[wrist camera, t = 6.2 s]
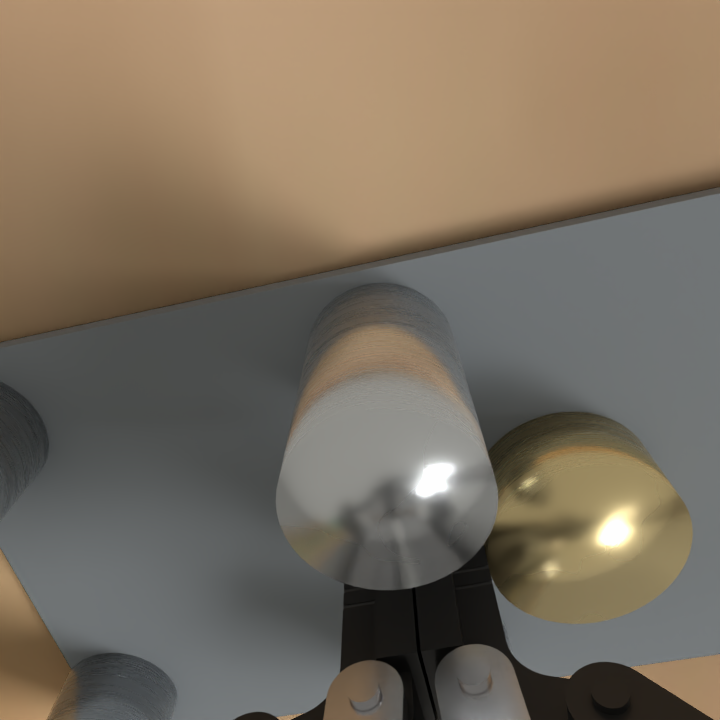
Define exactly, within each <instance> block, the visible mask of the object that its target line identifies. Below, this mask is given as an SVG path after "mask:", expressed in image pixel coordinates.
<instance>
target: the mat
mask: <svg viewBox="0 0 720 720" xmlns="http://www.w3.org/2000/svg"><path fill="white" fill-rule="evenodd" d="M374 283H390V284H397V285H402V286H406V287H408V288H411V289H414V290H416V291H418V292H420V293H421V294H423V295H425V296H426V297H427V298H429V299H430V300H432V301H433V302H434V303H435V304H436V305H437V306H438V307H439V308H440V310H441V311H442V312H443V313H444V315H445V317H446V318H447V320H448V322H449V324H450V327H451V329H452V332H453V335H454V339H455V342H456V346H457V349H458V352H459V356H460V359H461V363H462V366H463V370H464V373H465V377H466V380H467V383H468V387H469V390H470V394H471V397H472V401H473V404H474V407H475V411H476V414H477V418H478V421H479V425H480V428H481V431H482V435H483V438H484V442H485V445H486V449H487V452H488V451H489V450H490V448H491V447H492V446H493V445H494V444H495V443H496V442H497V441H498V440H499V439H500V438H502V437H503V436H504V435H505V434H506V433H508V432H509V431H511V430H512V429H514V428H516V427H517V426H519V425H521V424H523V423H525V422H527V421H529V420H532V419H535V418H538V417H541V416H545V415H549V414H553V413H561V412H586V413H592V414H597V415H601V416H604V417H607V418H610V419H612V420H614V421H616V422H618V423H620V424H622V425H623V426H625V427H626V428H628V429H629V430H630V431H632V432H633V433H634V434H635V435H636V436H637V437H638V438H639V440H640V441H641V442H642V444H643V445H644V447H645V448H646V449H647V451H648V452H649V454H650V455H651V456H652V458H653V459H654V461H655V462H656V463H657V465H658V466H659V468H660V469H661V471H662V472H663V473H664V475H665V476H666V478H667V479H668V480H669V482H670V483H671V485H672V486H673V487H674V489H675V490H676V492H677V493H678V495H679V496H680V497H681V499H682V500H683V502H684V503H685V505H686V507H687V509H688V511H689V514H690V518H691V521H692V529H693V537H692V545H691V550H690V554H689V556H688V558H687V561H686V563H685V565H684V567H683V569H682V570H681V572H680V574H679V575H678V576H677V577H676V579H675V580H674V581H673V583H672V584H671V585H670V586H669V587H668V588H667V589H666V590H665V591H664V592H662V593H661V594H660V595H659V596H657V597H656V598H655V599H653V600H652V601H650V602H649V603H647V604H646V605H644V606H642V607H640V608H639V609H637V610H635V611H633V612H630V613H628V614H625V615H623V616H620V617H617V618H613V619H610V620H606V621H601V622H595V623H586V624H567V623H557V622H552V621H547V620H543V619H540V618H537V617H534V616H532V615H530V614H527V613H525V612H524V611H522V610H520V609H518V608H517V607H515V606H514V605H513V604H512V603H510V602H509V601H508V600H507V599H506V598H505V597H504V596H503V595H502V594H501V593H500V591H499V590H498V588H497V587H496V585H495V584H494V581H493V579H492V583H493V587H494V591H495V595H496V600H497V604H498V608H499V612H500V617H501V621H502V622H503V623H504V625H505V627H506V629H507V633H508V637H509V641H510V645H511V650H512V654H513V656H514V657H515V658H516V659H517V660H518V661H519V662H520V663H521V664H522V665H524V666H525V667H527V668H528V669H530V670H532V671H534V672H537V673H540V674H543V675H548V676H553V677H562V676H569V675H573V674H574V673H575V672H576V671H577V670H579V669H580V668H582V667H584V666H586V665H588V664H591V663H596V662H614V663H618V664H622V665H625V666H627V667H632V666H639V665H647V664H654V663H661V662H668V661H675V660H682V659H689V658H696V657H703V656H710V655H717V654H720V187H717V188H712V189H708V190H703V191H699V192H694V193H689V194H685V195H680V196H675V197H671V198H666V199H662V200H657V201H652V202H648V203H643V204H638V205H634V206H629V207H625V208H620V209H615V210H611V211H606V212H601V213H597V214H592V215H588V216H583V217H578V218H574V219H569V220H564V221H560V222H555V223H551V224H546V225H541V226H537V227H532V228H527V229H523V230H518V231H514V232H509V233H504V234H500V235H495V236H490V237H486V238H481V239H477V240H472V241H467V242H463V243H458V244H453V245H449V246H444V247H440V248H435V249H430V250H426V251H421V252H416V253H412V254H407V255H403V256H398V257H393V258H389V259H384V260H379V261H375V262H370V263H366V264H361V265H356V266H352V267H347V268H342V269H338V270H333V271H329V272H324V273H319V274H315V275H310V276H305V277H301V278H296V279H292V280H287V281H282V282H278V283H273V284H268V285H264V286H259V287H255V288H250V289H245V290H241V291H236V292H231V293H227V294H222V295H218V296H213V297H208V298H204V299H199V300H194V301H190V302H185V303H181V304H176V305H171V306H167V307H162V308H157V309H153V310H148V311H144V312H139V313H134V314H130V315H125V316H120V317H116V318H111V319H106V320H102V321H97V322H93V323H88V324H83V325H79V326H74V327H69V328H65V329H60V330H56V331H51V332H46V333H42V334H37V335H32V336H28V337H23V338H19V339H14V340H9V341H5V342H0V381H1V382H3V383H5V384H6V385H8V386H10V387H12V388H13V389H14V390H16V391H17V392H19V393H20V394H21V395H22V396H23V397H25V398H26V399H27V400H28V401H29V402H30V403H31V404H32V406H33V407H34V408H35V409H36V411H37V412H38V413H39V415H40V417H41V419H42V420H43V422H44V425H45V427H46V430H47V434H48V439H49V453H48V457H47V460H46V463H45V465H44V467H43V468H42V470H41V471H40V473H39V474H38V475H37V476H36V478H35V479H34V480H33V481H32V483H31V484H30V485H29V486H28V488H27V489H26V490H25V491H24V493H23V494H22V495H21V497H20V498H19V499H18V500H17V502H16V503H15V504H14V505H13V507H12V508H11V509H10V510H9V512H8V513H7V514H6V515H5V517H4V518H3V519H2V520H1V522H0V548H1V550H2V551H3V553H4V555H5V557H6V558H7V560H8V562H9V563H10V565H11V567H12V569H13V570H14V572H15V574H16V575H17V577H18V579H19V581H20V582H21V584H22V586H23V587H24V589H25V591H26V592H27V594H28V596H29V598H30V599H31V601H32V603H33V604H34V606H35V608H36V610H37V611H38V613H39V615H40V616H41V618H42V620H43V622H44V623H45V625H46V627H47V628H48V630H49V632H50V634H51V635H52V637H53V639H54V640H55V642H56V644H57V646H58V647H59V649H60V651H61V652H62V654H63V656H64V657H65V659H66V661H67V663H68V664H69V666H70V668H71V669H72V668H73V667H74V666H75V665H76V664H77V663H79V662H80V661H82V660H84V659H86V658H88V657H91V656H94V655H98V654H105V653H120V654H127V655H132V656H136V657H139V658H142V659H144V660H147V661H149V662H151V663H153V664H154V665H156V666H157V667H159V668H160V669H161V670H163V671H164V672H165V673H166V674H167V675H168V676H169V678H170V679H171V680H172V682H173V683H174V685H175V688H176V691H177V705H176V708H175V711H174V715H173V718H172V720H234V719H235V718H237V717H239V716H241V715H244V714H247V713H251V712H266V713H269V714H271V715H273V716H275V717H279V716H287V715H294V714H301V713H306V712H308V711H310V710H312V709H313V708H315V707H316V706H318V705H319V704H320V703H321V702H322V701H324V700H325V699H326V698H327V693H328V690H329V687H330V685H331V683H332V682H333V680H334V679H335V678H336V677H337V675H338V674H339V673H340V664H341V642H342V620H343V609H344V607H343V598H344V583H341V582H339V581H336V580H334V579H332V578H329V577H328V576H326V575H324V574H322V573H320V572H319V571H317V570H316V569H314V568H313V567H312V566H310V565H309V564H308V563H306V562H305V561H304V560H303V559H302V558H301V557H300V556H299V555H298V554H297V553H296V551H295V550H294V549H293V548H292V547H291V545H290V544H289V542H288V540H287V539H286V537H285V536H284V533H283V531H282V529H281V526H280V524H279V520H278V516H277V510H276V490H277V485H278V480H279V476H280V471H281V467H282V462H283V457H284V453H285V448H286V444H287V439H288V434H289V430H290V425H291V421H292V416H293V412H294V407H295V402H296V398H297V393H298V389H299V384H300V379H301V375H302V370H303V366H304V361H305V356H306V352H307V347H308V343H309V338H310V334H311V331H312V328H313V325H314V323H315V321H316V320H317V318H318V316H319V315H320V313H321V312H322V311H323V309H324V308H325V307H326V306H327V305H328V304H329V303H330V302H331V301H333V300H334V299H335V298H336V297H338V296H339V295H341V294H343V293H345V292H346V291H348V290H351V289H353V288H356V287H359V286H363V285H367V284H374ZM491 578H492V577H491Z"/></svg>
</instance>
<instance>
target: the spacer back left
mask: <svg viewBox="0 0 720 720" xmlns="http://www.w3.org/2000/svg"><path fill="white" fill-rule="evenodd" d="M176 705H177V691H176V688H175V685H174V683H173V682H172V680H171V679H170V678H169V676H168V675H167V674H166V673H165V672H164V671H163V670H161V669H160V668H159V667H157V666H156V665H154V664H153V663H151V662H149V661H147V660H144V659H142V658H139V657H136V656H132V655H127V654H120V653H105V654H98V655H94V656H91V657H88V658H86V659H84V660H82V661H80V662H79V663H77V664H76V665H75V666H74V667H73V668H72V670H71V671H70V673H69V675H68V677H67V679H66V681H65V683H64V685H63V687H62V689H61V691H60V693H59V695H58V697H57V699H56V701H55V703H54V705H53V708H52V710H51V712H50V714H49V716H48V718H47V720H172V718H173V715H174V711H175V708H176Z"/></svg>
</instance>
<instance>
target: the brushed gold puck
mask: <svg viewBox="0 0 720 720" xmlns="http://www.w3.org/2000/svg"><path fill="white" fill-rule="evenodd" d="M488 455H489V459H490V462H491V466H492V469H493V473H494V476H495V480H496V484H497V490H498V510H497V515H496V519H495V523H494V525H493V528H492V530H491V533H490V535H489V536H488V538H487V540H486V541H485V543H484V544H483V546H484V549H485V553H486V557H487V561H488V566H489V570H490V574H491V577H492V579H493V581H494V584H495V585H496V587H497V588H498V590H499V591H500V593H501V594H502V595H503V596H504V597H505V598H506V599H507V600H508V601H509V602H510V603H512V604H513V605H514V606H515V607H517V608H518V609H520V610H522V611H524V612H525V613H527V614H530V615H532V616H534V617H537V618H540V619H543V620H547V621H552V622H557V623H567V624H586V623H595V622H601V621H606V620H610V619H613V618H617V617H620V616H623V615H625V614H628V613H630V612H633V611H635V610H637V609H639V608H640V607H642V606H644V605H646V604H647V603H649V602H650V601H652V600H653V599H655V598H656V597H657V596H659V595H660V594H661V593H662V592H664V591H665V590H666V589H667V588H668V587H669V586H670V585H671V584H672V583H673V581H674V580H675V579H676V577H677V576H678V575H679V574H680V572H681V570H682V569H683V567H684V565H685V563H686V561H687V558H688V556H689V554H690V550H691V545H692V537H693V529H692V521H691V518H690V514H689V511H688V509H687V507H686V505H685V503H684V502H683V500H682V499H681V497H680V496H679V495H678V493H677V492H676V490H675V489H674V487H673V486H672V485H671V483H670V482H669V480H668V479H667V478H666V476H665V475H664V473H663V472H662V471H661V469H660V468H659V466H658V465H657V463H656V462H655V461H654V459H653V458H652V456H651V455H650V454H649V452H648V451H647V449H646V448H645V447H644V445H643V444H642V442H641V441H640V440H639V438H638V437H637V436H636V435H635V434H634V433H633V432H632V431H630V430H629V429H628V428H626V427H625V426H623V425H622V424H620V423H618V422H616V421H614V420H612V419H610V418H607V417H604V416H601V415H597V414H592V413H586V412H561V413H553V414H549V415H545V416H541V417H538V418H535V419H532V420H529V421H527V422H525V423H523V424H521V425H519V426H517V427H516V428H514V429H512V430H511V431H509V432H508V433H506V434H505V435H504V436H503V437H502V438H500V439H499V440H498V441H497V442H496V443H495V444H494V445H493V446H492V447H491V448H490V450H489V451H488Z"/></svg>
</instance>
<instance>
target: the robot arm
mask: <svg viewBox="0 0 720 720" xmlns="http://www.w3.org/2000/svg"><path fill="white" fill-rule="evenodd" d="M343 607H344V609H343V620H342V642H341V664H340V673H339V674H338V675H337V677H336V678H335V679H334V680H333V682H332V683H331V685H330V687H329V690H328V693H327V698H326V699H325V700H324V701H322V702H321V703H320V704H319V705H318V706H316V707H315V708H313V709H312V710H310V711H308V712H306V713H304V714H302V715H300V716H298V717H296V718H294V719H292V720H713V719H712V718H710V717H708V716H707V715H705V714H704V713H702V712H700V711H699V710H697V709H696V708H694V707H693V706H691V705H689V704H688V703H686V702H685V701H683V700H681V699H680V698H678V697H677V696H675V695H673V694H672V693H670V692H669V691H667V690H666V689H664V688H662V687H661V686H659V685H658V684H656V683H654V682H653V681H651V680H650V679H648V678H646V677H645V676H643V675H642V674H640V673H639V672H637V671H635V670H633V669H632V668H630V667H627V666H625V665H622V664H618V663H614V662H596V663H591V664H588V665H586V666H584V667H582V668H580V669H579V670H577V671H576V672H575V673H574V674H573V675H572V677H571V678H570V679H567V678H560V677H553V676H548V675H543V674H540V673H537V672H534V671H532V670H530V669H528V668H527V667H525V666H524V665H522V664H521V663H520V662H519V661H518V660H517V659H516V658H515V657H514V656H513V654H512V653H511V651H510V650H509V648H508V645H507V642H506V638H505V633H504V629H503V625H502V621H501V617H500V612H499V608H498V604H497V600H496V595H495V591H494V587H493V583H492V578H491V574H490V570H489V566H488V561H487V557H486V553H485V549H484V546H482V547H481V548H480V549H479V551H478V552H477V553H476V554H475V555H474V556H473V557H472V558H471V559H470V560H469V561H468V562H467V563H466V564H464V565H463V566H462V567H460V568H459V569H458V570H456V571H454V572H453V573H451V574H449V575H447V576H446V577H443V578H441V579H439V580H437V581H434V582H431V583H428V584H425V585H422V586H418V587H413V588H408V589H400V590H373V589H365V588H360V587H354V586H351V585H348V584H344V598H343ZM234 720H279V719H277V718H276V717H275V716H273V715H271V714H269V713H266V712H251V713H247V714H244V715H241V716H239V717H237V718H235V719H234Z"/></svg>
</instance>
